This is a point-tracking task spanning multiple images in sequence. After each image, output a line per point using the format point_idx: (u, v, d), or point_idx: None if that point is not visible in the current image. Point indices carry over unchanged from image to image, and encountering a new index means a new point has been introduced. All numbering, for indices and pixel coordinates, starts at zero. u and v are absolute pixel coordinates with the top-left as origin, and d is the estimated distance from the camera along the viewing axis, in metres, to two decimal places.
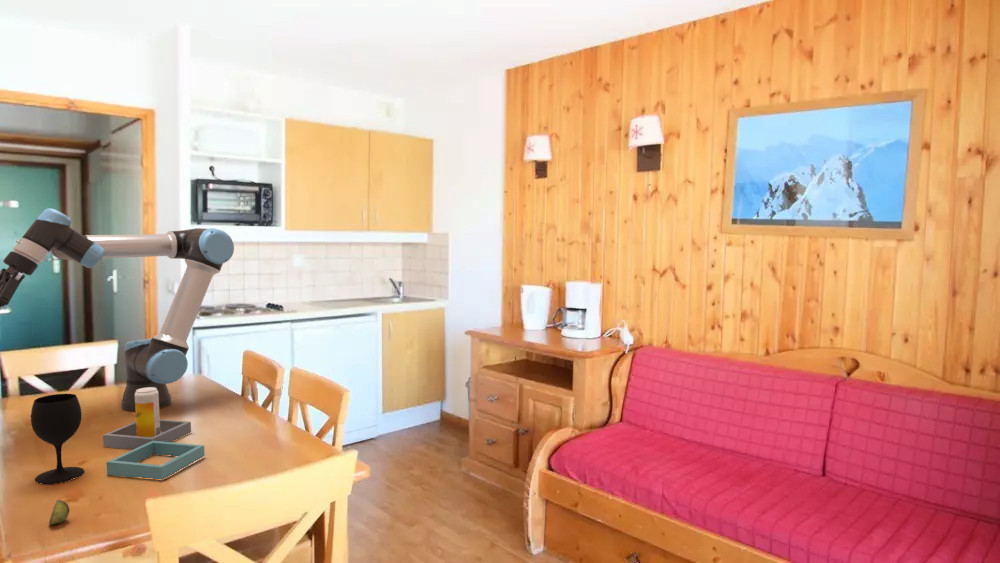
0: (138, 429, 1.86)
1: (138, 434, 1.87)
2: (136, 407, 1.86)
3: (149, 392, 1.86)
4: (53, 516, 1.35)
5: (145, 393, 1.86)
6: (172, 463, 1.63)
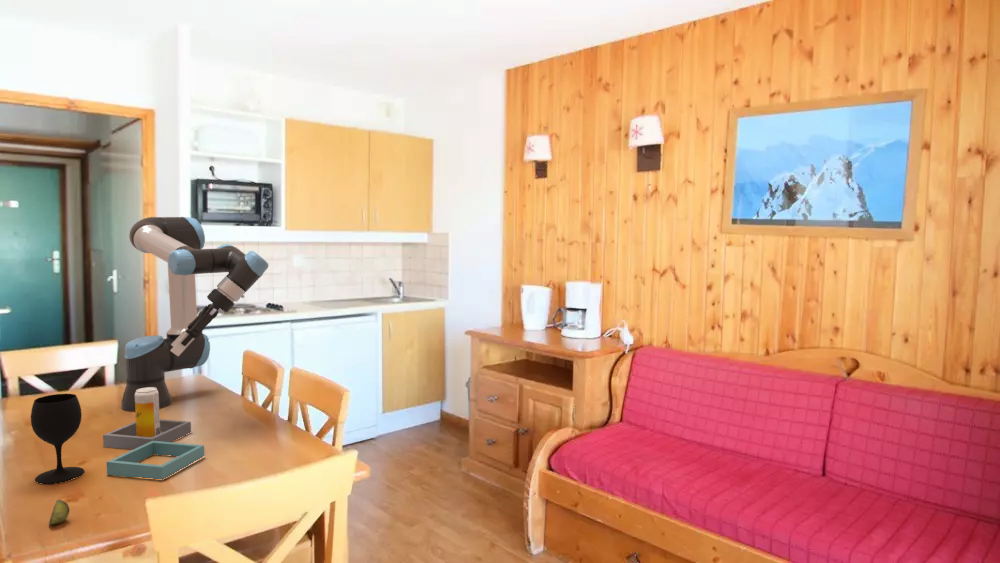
0: (138, 429, 1.86)
1: (138, 434, 1.87)
2: (136, 407, 1.86)
3: (149, 392, 1.86)
4: (53, 516, 1.35)
5: (145, 393, 1.86)
6: (172, 463, 1.63)
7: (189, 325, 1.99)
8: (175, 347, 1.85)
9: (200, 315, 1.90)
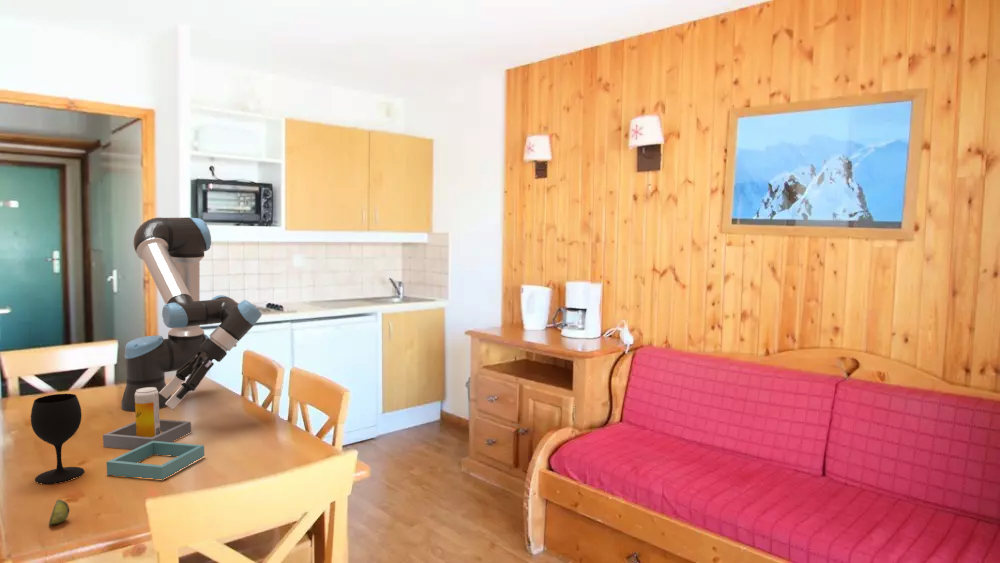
0: (138, 429, 1.86)
1: (138, 434, 1.87)
2: (136, 407, 1.86)
3: (149, 392, 1.86)
4: (53, 516, 1.35)
5: (145, 393, 1.86)
6: (172, 463, 1.63)
7: (178, 373, 1.98)
8: (170, 400, 1.84)
9: (194, 366, 1.90)
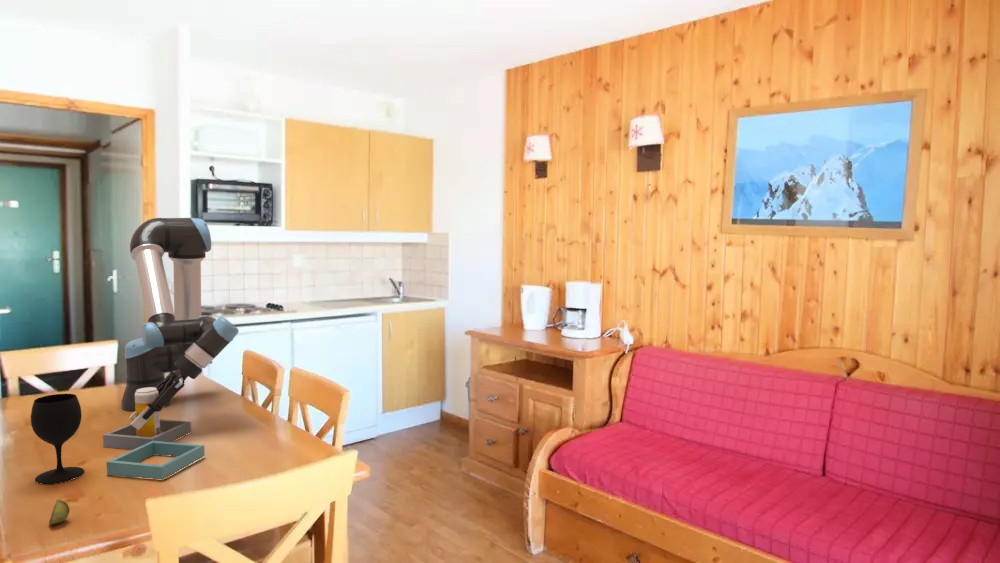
0: None
1: (138, 434, 1.87)
2: (136, 407, 1.86)
3: (149, 392, 1.86)
4: (53, 516, 1.35)
5: (145, 393, 1.86)
6: (172, 463, 1.63)
7: None
8: (136, 421, 1.84)
9: (165, 385, 1.88)
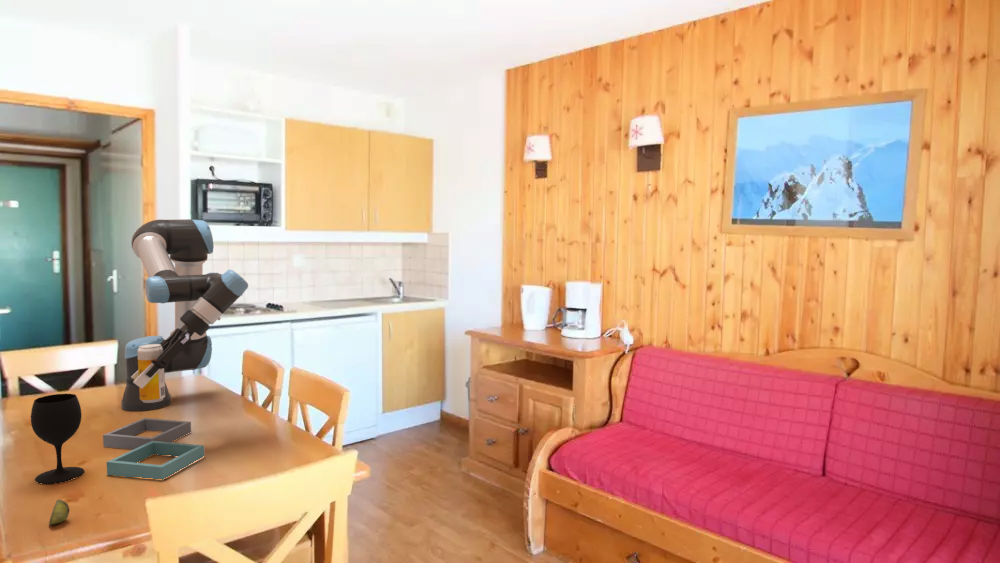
0: (141, 388, 1.73)
1: (142, 393, 1.73)
2: (139, 364, 1.73)
3: (153, 348, 1.73)
4: (53, 516, 1.35)
5: (149, 349, 1.72)
6: (172, 463, 1.63)
7: None
8: (139, 379, 1.70)
9: (170, 341, 1.75)
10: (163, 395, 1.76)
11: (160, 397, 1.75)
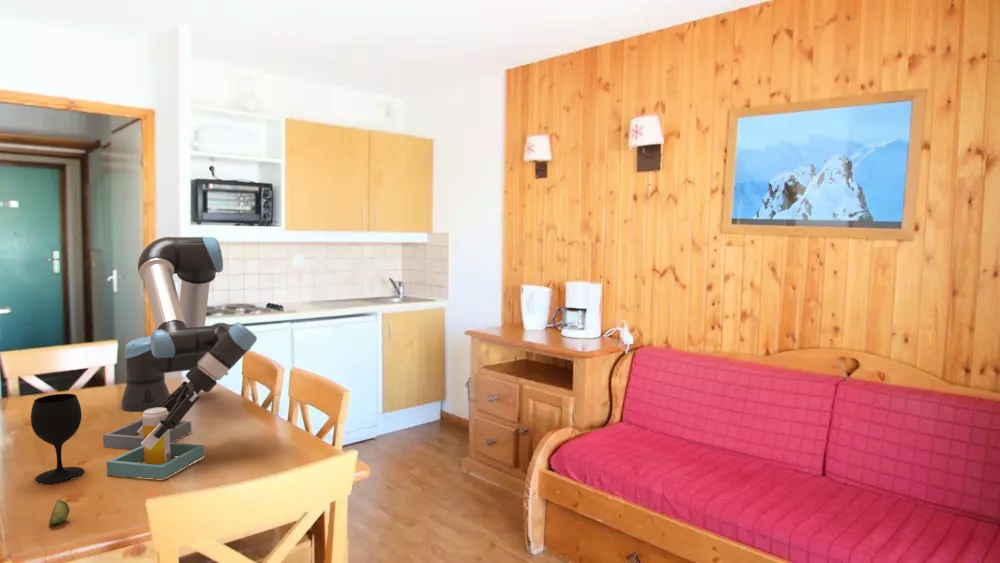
0: (146, 455, 1.67)
1: (147, 460, 1.67)
2: (144, 430, 1.66)
3: (158, 413, 1.66)
4: (53, 516, 1.35)
5: (154, 415, 1.66)
6: (172, 463, 1.63)
7: None
8: (147, 440, 1.62)
9: (178, 399, 1.68)
10: None
11: None
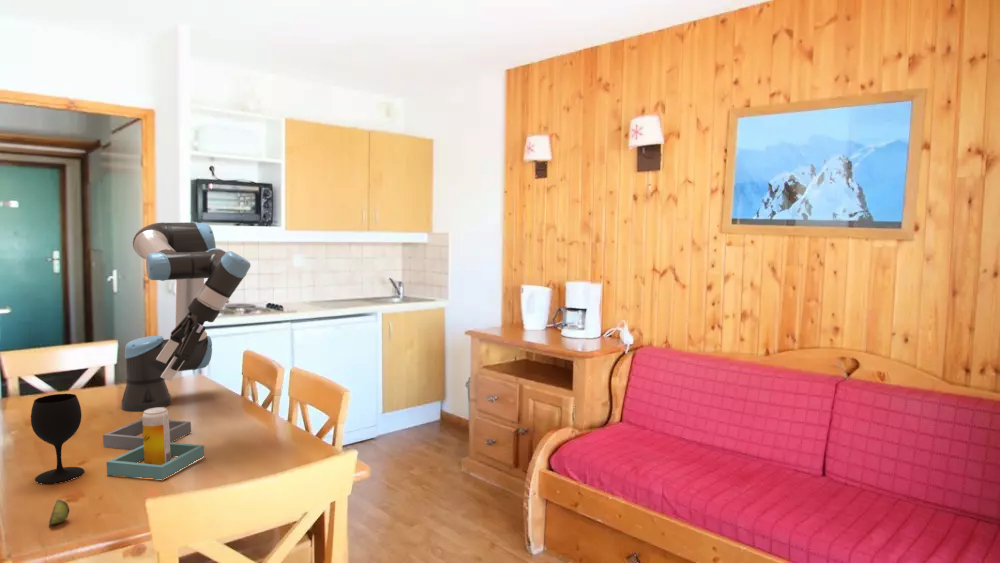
0: (146, 455, 1.67)
1: (147, 460, 1.67)
2: (144, 430, 1.66)
3: (158, 413, 1.66)
4: (53, 516, 1.35)
5: (154, 415, 1.66)
6: (172, 463, 1.63)
7: (172, 335, 1.82)
8: (165, 373, 1.70)
9: (185, 332, 1.73)
10: None
11: None
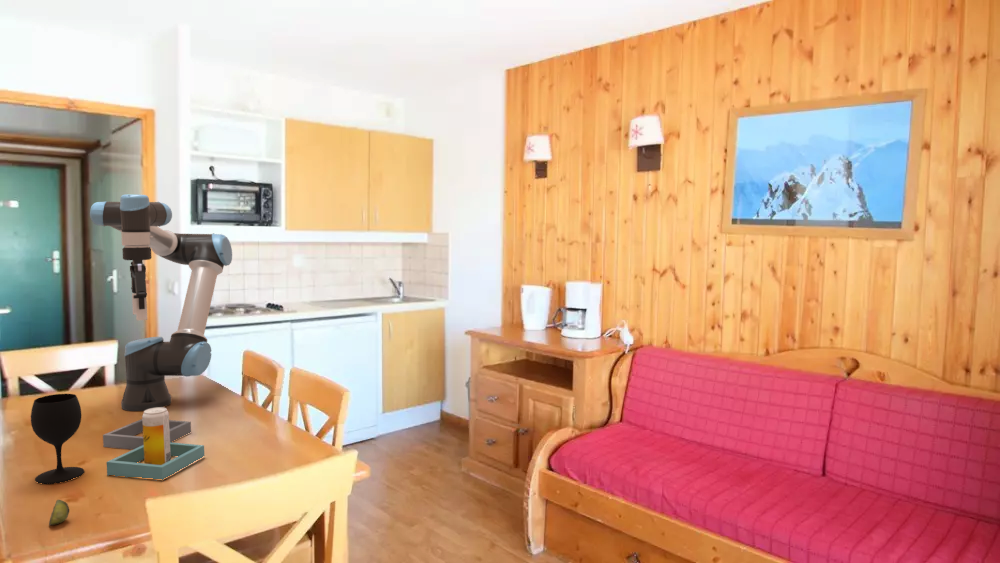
0: (146, 455, 1.67)
1: (147, 460, 1.67)
2: (144, 430, 1.66)
3: (158, 413, 1.66)
4: (53, 516, 1.35)
5: (154, 415, 1.66)
6: (172, 463, 1.63)
7: (132, 290, 2.00)
8: (138, 315, 1.89)
9: (132, 277, 1.90)
10: None
11: None
